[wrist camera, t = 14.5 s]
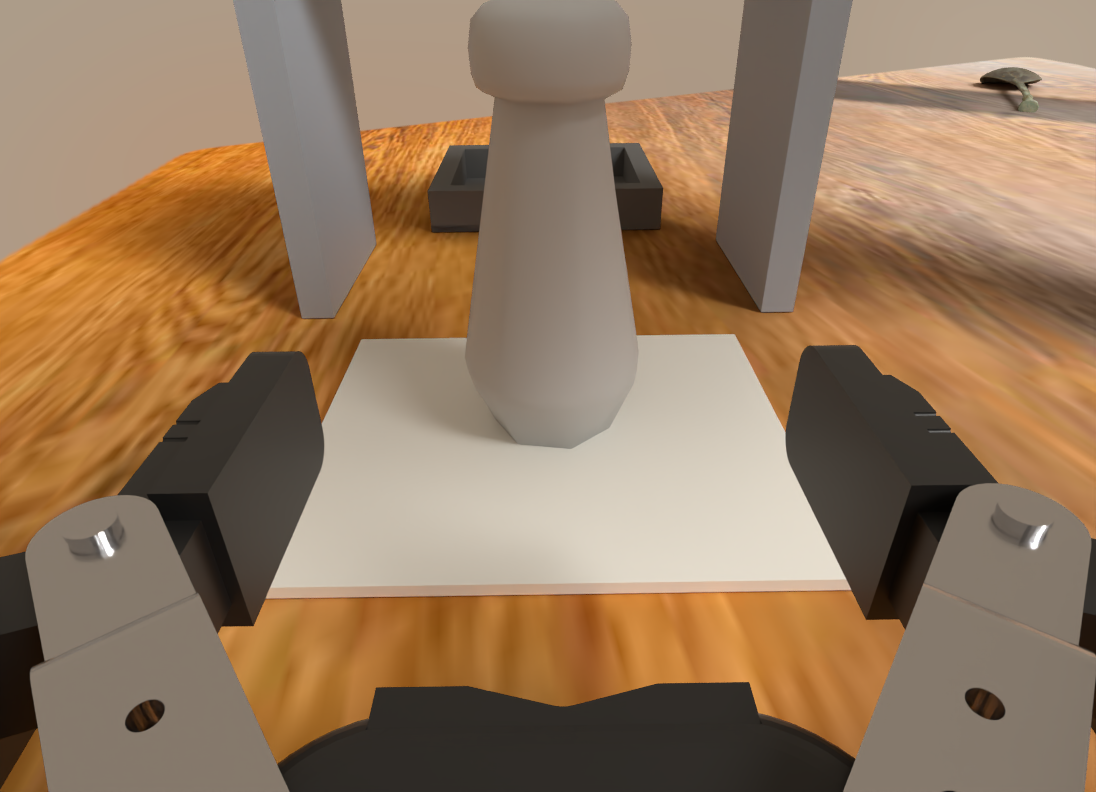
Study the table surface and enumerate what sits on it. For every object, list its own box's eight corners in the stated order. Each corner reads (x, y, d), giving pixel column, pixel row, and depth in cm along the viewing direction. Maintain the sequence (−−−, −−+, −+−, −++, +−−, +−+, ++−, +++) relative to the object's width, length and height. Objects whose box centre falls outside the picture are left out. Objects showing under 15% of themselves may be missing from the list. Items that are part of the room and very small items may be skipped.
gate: (741, 239, 41) (800, -187, 31) (792, 311, 33) (898, -242, 23) (351, 244, 41) (280, -181, 31) (301, 318, 33) (182, -234, 22)
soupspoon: (1032, 93, 90) (974, 93, 92) (1040, 64, 88) (980, 64, 91) (1061, 116, 72) (988, 115, 75) (1072, 81, 71) (997, 81, 73)
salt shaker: (458, 386, 27) (422, -9, 20) (600, 364, 28) (613, -13, 21) (491, 479, 22) (458, 1, 15) (661, 447, 23) (703, -6, 16)
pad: (733, 342, 30) (734, 334, 30) (857, 590, 18) (861, 579, 18) (362, 347, 30) (361, 339, 30) (248, 598, 18) (244, 588, 18)
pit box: (637, 177, 53) (639, 143, 52) (660, 229, 43) (663, 188, 42) (452, 179, 53) (449, 145, 52) (431, 232, 43) (427, 191, 42)
